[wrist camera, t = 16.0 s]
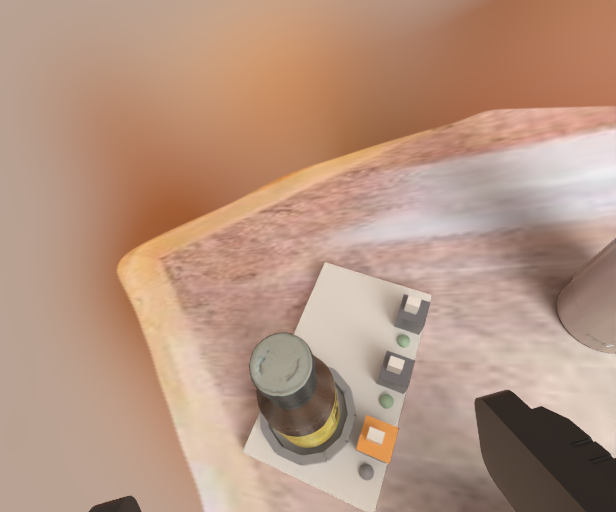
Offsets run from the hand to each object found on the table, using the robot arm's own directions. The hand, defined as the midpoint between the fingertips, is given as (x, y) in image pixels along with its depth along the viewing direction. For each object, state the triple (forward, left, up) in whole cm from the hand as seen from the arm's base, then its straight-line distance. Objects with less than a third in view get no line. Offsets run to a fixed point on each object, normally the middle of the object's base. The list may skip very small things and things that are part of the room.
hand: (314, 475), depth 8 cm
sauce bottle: (-4, -5, -33) cm, 33 cm away
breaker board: (-10, -3, -34) cm, 36 cm away
